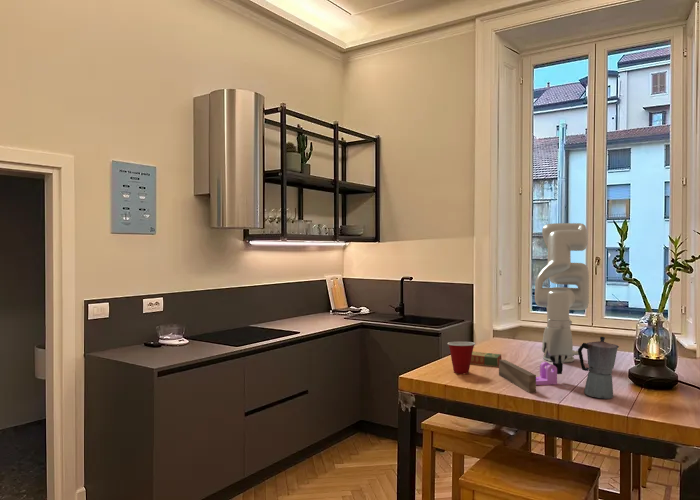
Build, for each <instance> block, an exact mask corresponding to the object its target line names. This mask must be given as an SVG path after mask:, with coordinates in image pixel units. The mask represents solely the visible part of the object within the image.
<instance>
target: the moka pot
mask: <svg viewBox="0 0 700 500" xmlns="http://www.w3.org/2000/svg"><path fill="white" fill-rule="evenodd" d="M599 338H600V340H599V341H589V342H583V343H581V345H580V346H579V348H578V349H577V351H578V354H579V355H578V356H579V357H578V358H579V362H580V365H581V369H582V371H585V372H588V373H587V377H586V381H585V386H584V389H583V390H584V391H583V392H584V394H585V395H586V396H589V397H592V398H597V399H606V400H607V399H613V398H614V388H613V387H614V386H613V375H612V374H613V370H614V369H615V364H616V359H617V353H618V348H620V346H619V345H618V344H614V343H611V342H610V343H609V342H606V341H605V339H606V336H599ZM583 349H586V351H587V365H588V367H586V366H585V363H584V362H585V361H584V354H583V351H582V350H583Z"/></svg>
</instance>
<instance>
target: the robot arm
mask: <svg viewBox="0 0 700 500" xmlns="http://www.w3.org/2000/svg"><path fill="white" fill-rule="evenodd" d="M541 230H542V231H541V233H542V238H543V241H544V243H545V245H546V247H547V264H546V265H545V266H544V267H543V268H541V270H540V271H539V273H538V274H537V276H536V278H535V282H534V301H535V304H536V305H537V307H541V308H546V320H547V321H546V324H547V325H546V326H545V327H544V330H543V334H542V336H543V337H542V345H541V346H542V347H541V351H542V352H543V356H542V359H544V360H545V361H549V362H552V365H554V366H556V367H557V375H563V368H564V367H563V366H564V365H563V364H564V363H572V362H574V361H575V358H574V356H579V354H578V350H574V349H573V348H574V347H573V346H574V345H573V342H574V341H573V335H572V334H573V333H572V329H571V325H573V321H572V320H571V318H570V311H586V310H587V309H588V308H589V303H590V302H589V301H590V300H589V299H590V275H589V273H590V271H589V268H588V265H586V263H583V262H571V252H574V251H576V252H579V251H580V252H583V251H585V250H586V249H587V246H588V240H589V239H588V230H587V227H586V225H585V224H584V223H579V222H578V223H577V222H573V223H572V222H571V223H568V222H567V223H566V222H565V223H564V222H557V223H548V224H545V225H544V226H543V227H542V229H541ZM547 279H549V282H551V284H555V285H574V286H576V287H565V286H563V287H562V286H561V287H560V286H559V287H557V286H555V287H543V285H544V282H545V281H546V280H547Z"/></svg>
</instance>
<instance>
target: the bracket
mask: <svg viewBox="0 0 700 500" xmlns="http://www.w3.org/2000/svg"><path fill="white" fill-rule="evenodd" d="M541 385H542V386H544V385H545V386H547V385H558V374H557V367H556V366H554V365H553V363H552V364H551V363H549V362H547V361H542V362H541V363H540V364H539V376H536V386H541Z"/></svg>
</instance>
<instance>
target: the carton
mask: <svg viewBox="0 0 700 500" xmlns="http://www.w3.org/2000/svg"><path fill="white" fill-rule="evenodd" d="M499 360H502V354H501V353H500V354H499V353H490V352H482V351H474V350H473V352H472V358H471V364H470V365H478V366H487V367H488V366H489V367H496V368H497V367H498V368H499Z"/></svg>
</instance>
